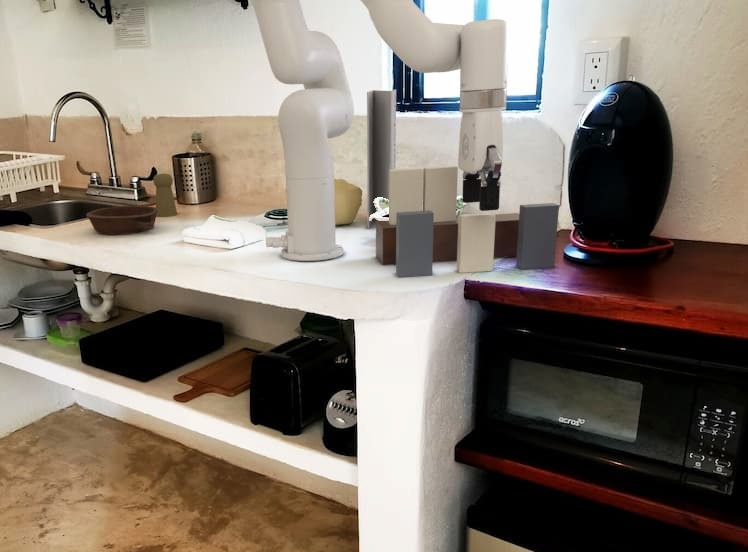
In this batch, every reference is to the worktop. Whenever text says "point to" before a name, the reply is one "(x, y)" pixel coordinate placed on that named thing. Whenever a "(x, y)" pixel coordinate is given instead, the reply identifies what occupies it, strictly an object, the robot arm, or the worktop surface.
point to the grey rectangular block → (537, 235)
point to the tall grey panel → (380, 144)
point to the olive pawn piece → (164, 195)
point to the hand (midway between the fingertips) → (480, 206)
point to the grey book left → (414, 243)
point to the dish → (123, 219)
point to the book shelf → (450, 239)
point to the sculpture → (346, 201)
